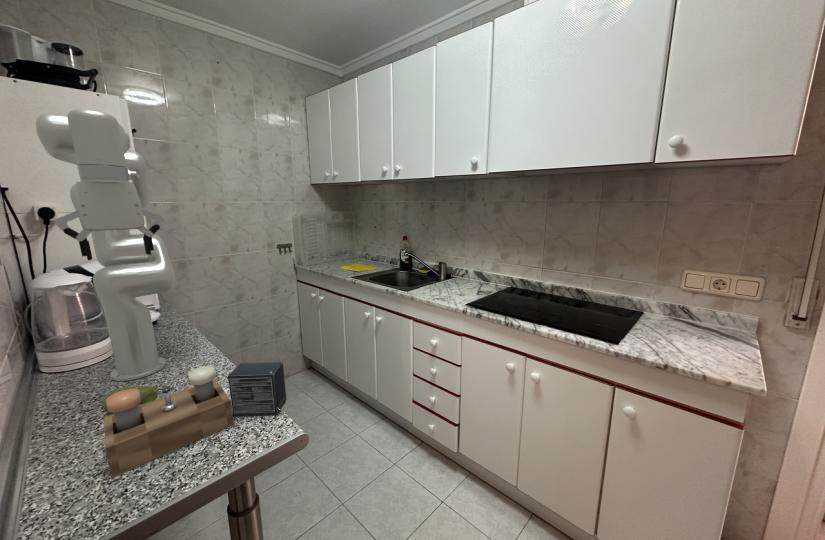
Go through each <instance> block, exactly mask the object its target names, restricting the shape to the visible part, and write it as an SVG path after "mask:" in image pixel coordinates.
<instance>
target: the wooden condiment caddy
mask: <svg viewBox="0 0 825 540" xmlns="http://www.w3.org/2000/svg"><path fill="white" fill-rule="evenodd" d="M213 384H214V391H215V398H212V399H209V400H206V401H204V402H201V403H198V404H197V402H196V396H195V390H194V386H192V387H189V388H186V389H183V390H180V391H178V392H174V393H172V394H171V393H170V396H171V401H172V402H176V405H177V407H176V408H175V409H174V410H172V411H169V412H163V411H162V406H163V405H164V404H166V403H165V397H164V396H163V397H159V398H157V399H156V398H155V400H153V401H150V402H147V403H144V404H142V403H140V404H138V408H139V413H140V418H141V423H142V424H141V425H139V426H136V427H133V428H131V429H128V430H125V431H123V432H120V433H118V432H117V427H116V423H115V418H114V414H112V413H111V414H108V415H105V416H104V417H103V429H104V431H103V432H104V448H105V453H106V457H107V462H108V466H109V469H110V474H111V478H114V477H117V476H120V475H122V474H123V473H126V472H128V471H131V470H133V469H135V468H138V467H140V466H142V465H145V464H146V463H147V464H148V463H149V462H151V461H153V460H156V459H159V458H161V457H163V456H165V455H168V454H170V453H172V452H174V451H176V450H178V449H181V448H183V447H186V446H188V445H191V444H192V443H195V442H198V441H199V440H202V439H204V438H206V437H209V436H211V435H213V434H215V433H218V432H220V431H222V430H225V429H227V428H230V427H231V426H234V425H235V421H234V416H233V411H232V402H231V397H230V396H228V394H227V393H226V392H225V390H224V389H223V387H222V386H221V384H220V383H219V381H218V380H217V379H213Z"/></svg>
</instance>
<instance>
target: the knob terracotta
mask: <svg viewBox="0 0 825 540" xmlns="http://www.w3.org/2000/svg"><path fill="white" fill-rule="evenodd" d="M140 402H141V397H140V392H139V390H138V389H126V390H122V391H119V392H117V393H115V394H113V395H111V396H109V397H108V398H107V399H106V403H107V408H108V411H109V412H111V413H110V414H112V413H113V414H114V418H115V423H116V427H117V432H118V433H120V432H123V431H125V430H128V429H131V428H133V427H136V426H139V425H141V424H142V423H141V418H140V413H139V408H138V405H140V404H141V403H140Z"/></svg>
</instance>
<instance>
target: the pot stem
mask: <svg viewBox="0 0 825 540" xmlns="http://www.w3.org/2000/svg"><path fill="white" fill-rule="evenodd" d="M171 391H172V390H171V387H170V386H165V387H163V388H162V389H161V393H162V394H163V395H164V396H163V397H165V403H166V404H164V405H163V406H162V411H163V412H169V411H172V410H174V409H175V408H176V407H177V405H176V402H172V401H171V396H170V395H171Z"/></svg>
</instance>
